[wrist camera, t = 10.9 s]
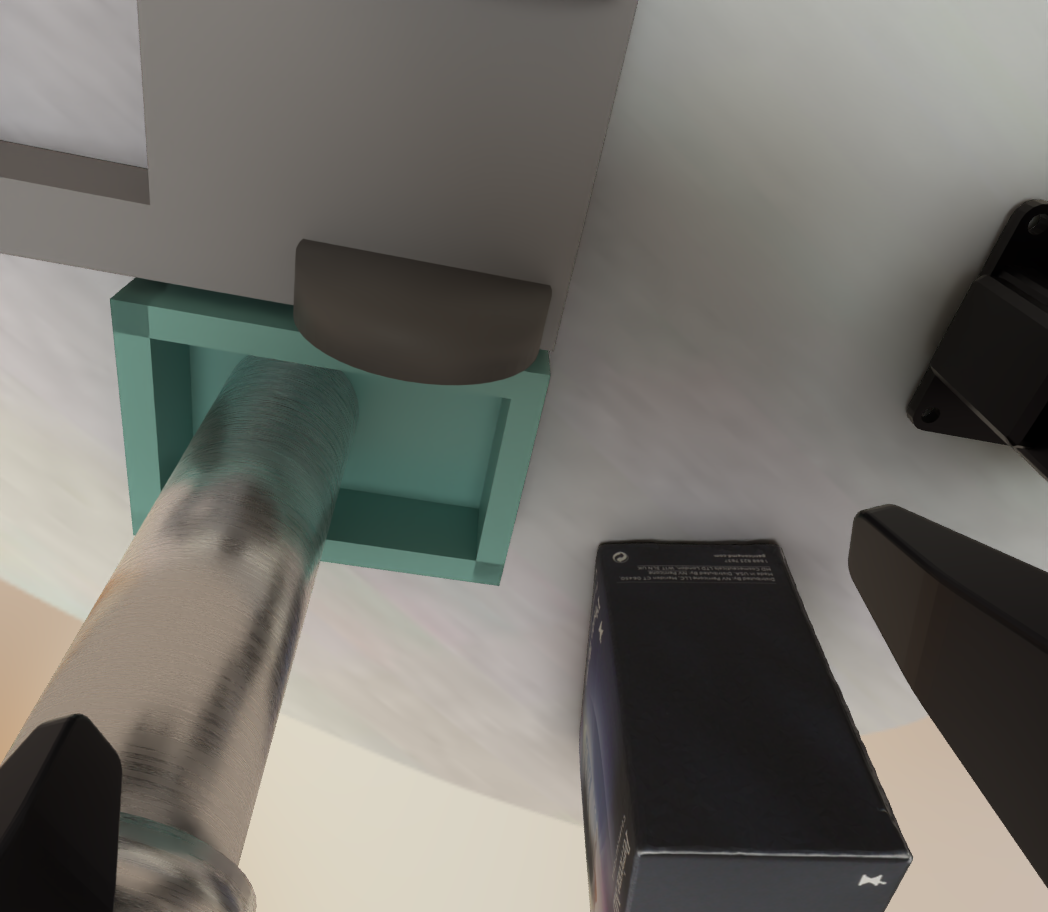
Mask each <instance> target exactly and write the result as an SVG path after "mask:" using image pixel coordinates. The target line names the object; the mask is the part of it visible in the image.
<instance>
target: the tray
mask: <svg viewBox="0 0 1048 912" xmlns="http://www.w3.org/2000/svg"><path fill="white" fill-rule="evenodd" d="M110 305H111V315H112V325H113V335H114V345H115V355H116V365H117V375H118V385H119V395H120V405H121V415H122V426H123V436H124V446H125V456H126V466H127V476H128V486H129V496H130V506H131V516H132V526H133V535H136V534H137V532H138V530H139V529H140V527H141V525H142V524H143V522H144V520H145V518H146V517H147V515H148V513H149V512H150V510H151V508H152V507H153V505H154V503H155V501H156V500H157V498H158V496H159V495H160V493H161V491H162V490H163V488H164V486H165V484H166V483H167V481H168V479H169V478H170V476H171V474H172V473H173V471H174V469H175V467H176V466H177V464H178V462H179V461H180V459H181V457H182V456H183V454H184V452H185V450H186V449H187V447H188V445H189V444H190V442H191V440H192V439H193V437H194V435H195V433H196V432H197V430H198V428H199V427H200V425H201V423H202V422H203V420H204V418H205V416H206V415H207V413H208V411H209V410H210V408H211V406H212V405H213V403H214V401H215V399H216V398H217V396H218V394H219V393H220V391H221V389H222V388H223V386H224V384H225V382H226V381H227V379H228V377H229V376H230V374H231V372H232V371H233V369H234V368H235V367H236V365H237V364H238V363H239V362H240V361H241V360H243V359H244V358H245V357H247V356H248V355H252V356H258V357H264V358H270V359H276V360H282V361H288V362H294V363H300V364H306V365H312V366H318V367H323V368H329V369H335V370H341V371H342V372H343V373H344V375H345V376H346V377H347V379H348V380H349V381H350V383H351V385H352V386H353V388H354V391H355V393H356V396H357V400H358V406H359V417H358V422H357V426H356V430H355V433H354V437H353V441H352V444H351V448H350V452H349V456H348V459H347V463H346V467H345V470H344V474H343V478H342V482H341V485H340V489H339V493H338V496H337V500H336V504H335V508H334V511H333V515H332V519H331V522H330V526H329V530H328V534H327V537H326V541H325V545H324V549H323V552H322V556H321V560H320V561H324V562H331V563H338V564H345V565H352V566H360V567H367V568H374V569H381V570H388V571H396V572H403V573H410V574H417V575H424V576H432V577H439V578H446V579H453V580H460V581H467V582H475V583H482V584H489V585H496V586H499V584H500V580H501V576H502V572H503V568H504V564H505V560H506V556H507V552H508V548H509V544H510V539H511V535H512V531H513V527H514V523H515V519H516V515H517V511H518V507H519V503H520V499H521V494H522V490H523V486H524V482H525V478H526V474H527V470H528V466H529V462H530V458H531V454H532V450H533V445H534V441H535V437H536V433H537V429H538V425H539V421H540V417H541V413H542V409H543V405H544V400H545V396H546V392H547V388H548V384H549V380H550V376H551V375H550V365H549V355H548V351H547V350H542V349H539V353H538V355H537V358H536V360H535V361H534V362H533V363H532V365H531V366H529V367H528V368H527V369H526V370H524V371H522V372H520V373H519V374H517V375H515V376H512V377H509V378H506V379H503V380H499V381H494V382H490V383H483V384H474V385H433V384H422V383H415V382H407V381H402V380H397V379H392V378H387V377H384V376H380V375H376V374H372V373H369V372H366V371H363V370H360V369H357V368H354V367H352V366H349V365H347V364H345V363H342V362H340V361H338V360H336V359H334V358H332V357H330V356H328V355H326V354H325V353H323V352H322V351H320V350H319V349H317V348H316V347H314V346H313V345H312V344H311V343H310V342H308V341H307V340H306V339H305V338H304V337H303V336H302V334H301V333H300V332H299V331H298V329H297V327H296V325H295V322H294V318H293V306H294V305H289V304H283V303H278V302H272V301H266V300H261V299H255V298H250V297H244V296H238V295H233V294H227V293H221V292H216V291H210V290H205V289H199V288H193V287H188V286H182V285H177V284H171V283H165V282H160V281H154V280H148V279H143V278H137V277H136V278H134V279H133V280H132V281H131V282H130V283H128V284H127V285H126V286H125V287H124V288H122V289H121V290H120V291H119V292H118V293H117V294H115V295H114V296H113V297H112V298H111V299H110Z"/></svg>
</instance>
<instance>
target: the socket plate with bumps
mask: <svg viewBox="0 0 1048 912" xmlns="http://www.w3.org/2000/svg"><path fill="white" fill-rule="evenodd" d="M637 4H638V0H137V8H138V24H139V39H140V55H141V70H142V86H143V101H144V116H145V132H146V147H147V163H148V169H144V168H139V167H134V166H129V165H124V164H119V163H113V162H108V161H103V160H98V159H93V158H88V157H83V156H78V155H72V154H67V153H62V152H57V151H52V150H47V149H42V148H36V147H31V146H26V145H21V144H16V143H11V142H6V141H0V253H2V254H8V255H14V256H19V257H25V258H30V259H36V260H42V261H47V262H53V263H59V264H64V265H70V266H75V267H81V268H87V269H92V270H98V271H103V272H109V273H115V274H120V275H126V276H132V277H137V278H143V279H148V280H154V281H160V282H165V283H171V284H177V285H182V286H188V287H193V288H199V289H205V290H210V291H216V292H221V293H227V294H233V295H238V296H244V297H250V298H255V299H261V300H266V301H272V302H278V303H283V304H289V305H294V306H293V318H294V322H295V325H296V327H297V329H298V331H299V332H300V333H301V334H302V336H303V337H304V338H305V339H306V340H307V341H308V342H310V343H311V344H312V345H313V346H314V347H316V348H317V349H319V350H320V351H322V352H323V353H325V354H326V355H328V356H330V357H332V358H334V359H336V360H338V361H340V362H342V363H345V364H347V365H349V366H352V367H354V368H357V369H360V370H363V371H366V372H369V373H372V374H376V375H380V376H384V377H387V378H392V379H397V380H402V381H407V382H415V383H422V384H433V385H474V384H483V383H490V382H494V381H499V380H503V379H506V378H509V377H512V376H515V375H517V374H519V373H520V372H522V371H524V370H526V369H527V368H528V367H529V366H531V365H532V363H533V362H534V361H535V360H536V358H537V355H538V353H539V349H542V350H547V351H553V350H554V346H555V342H556V338H557V334H558V330H559V326H560V322H561V317H562V313H563V309H564V305H565V301H566V297H567V293H568V289H569V284H570V280H571V276H572V272H573V268H574V264H575V260H576V255H577V251H578V247H579V243H580V239H581V235H582V231H583V227H584V222H585V218H586V214H587V210H588V206H589V202H590V198H591V194H592V189H593V185H594V181H595V177H596V173H597V169H598V165H599V160H600V156H601V152H602V148H603V144H604V140H605V136H606V132H607V127H608V123H609V119H610V115H611V111H612V107H613V103H614V99H615V94H616V90H617V86H618V82H619V78H620V74H621V70H622V66H623V61H624V57H625V53H626V49H627V45H628V41H629V37H630V32H631V28H632V24H633V20H634V16H635V12H636V8H637Z"/></svg>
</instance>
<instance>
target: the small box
mask: <svg viewBox="0 0 1048 912" xmlns="http://www.w3.org/2000/svg"><path fill="white" fill-rule="evenodd" d="M579 754H580V777H581V791H582V805H583V819H584V833H585V847H586V860H587V872H588V884H589V898H590V912H884V911H885V909H886V908H887V906H888V904H889V902H890V900H891V898H892V896H893V895H894V893H895V891H896V889H897V888H898V886H899V884H900V882H901V880H902V878H903V877H904V875H905V873H906V871H907V869H908V867H909V866H910V864H911V862H912V860H913V856H912V854H911V852H910V850H909V848H908V846H907V843H906V841H905V839H904V837H903V835H902V833H901V831H900V828H899V826H898V823H897V820H896V818H895V816H894V814H893V811H892V808H891V806H890V803H889V801H888V799H887V797H886V794H885V792H884V790H883V788H882V786H881V784H880V782H879V779H878V777H877V774H876V771H875V768H874V767H873V765H872V763H871V760H870V758H869V756H868V754H867V750H866V747H865V745H864V743H863V742H862V740H861V738H860V735H859V731H858V730H857V728H856V726H855V724H854V721H853V718H852V716H851V713H850V711H849V708H848V706H847V704H846V702H845V700H844V698H843V695H842V692H841V690H840V688H839V685H838V684H837V682H836V680H835V679H834V676H833V674H832V672H831V670H830V667H829V664H828V662H827V659H826V658H825V655H824V652H823V650H822V648H821V645H820V643H819V641H818V639H817V637H816V635H815V632H814V629H813V626H812V624H811V622H810V620H809V618H808V615H807V613H806V610H805V608H804V605H803V602H802V599H801V597H800V595H799V593H798V591H797V588H796V584H795V582H794V579H793V577H792V575H791V572H790V570H789V567H788V565H787V562H786V559H785V556H784V554H783V551H782V548H780V547H779V546H778V545H767V544H760V545H755V544H753V545H737V544H736V545H683V544H655V543H640V544H607V545H601V546H599V548H598V551H597V557H596V566H595V578H594V588H593V599H592V610H591V619H590V629H589V639H588V650H587V660H586V670H585V681H584V692H583V703H582V715H581V726H580V739H579Z"/></svg>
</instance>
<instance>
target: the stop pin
mask: <svg viewBox="0 0 1048 912" xmlns="http://www.w3.org/2000/svg"><path fill="white" fill-rule="evenodd" d="M358 417H359V406H358V400H357V396H356V393H355V391H354V388H353V386H352V385H351V383H350V381H349V380H348V379H347V377H346V376H345V375H344V373H343V372H342V371H341V370H335V369H329V368H323V367H318V366H312V365H306V364H300V363H294V362H288V361H282V360H276V359H270V358H264V357H258V356H252V355H248V356H247V357H245V358H244V359H243V360H241V361H240V362H239V363H238V364H237V365H236V367H235V368H234V369H233V371H232V372H231V374H230V376H229V377H228V379H227V381H226V382H225V384H224V386H223V388H222V389H221V391H220V393H219V394H218V396H217V398H216V399H215V401H214V403H213V405H212V406H211V408H210V410H209V411H208V413H207V415H206V416H205V418H204V420H203V422H202V423H201V425H200V427H199V428H198V430H197V432H196V433H195V435H194V437H193V439H192V440H191V442H190V444H189V445H188V447H187V449H186V450H185V452H184V454H183V456H182V457H181V459H180V461H179V462H178V464H177V466H176V467H175V469H174V471H173V473H172V474H171V476H170V478H169V479H168V481H167V483H166V484H165V486H164V488H163V490H162V491H161V493H160V495H159V496H158V498H157V500H156V501H155V503H154V505H153V507H152V508H151V510H150V512H149V513H148V515H147V517H146V518H145V520H144V522H143V524H142V525H141V527H140V529H139V530H138V532H137V534H136V535H135V537H134V539H133V541H132V542H131V544H130V546H129V547H128V549H127V551H126V552H125V554H124V556H123V558H122V559H121V561H120V563H119V564H118V566H117V568H116V569H115V571H114V573H113V575H112V576H111V578H110V580H109V581H108V583H107V585H106V586H105V588H104V590H103V592H102V593H101V595H100V597H99V598H98V600H97V602H96V603H95V605H94V607H93V608H92V610H91V612H90V614H89V615H88V617H87V619H86V620H85V622H84V624H83V625H82V628H81V629H80V631H79V632H78V634H77V636H76V637H75V639H74V641H73V643H72V644H71V646H70V648H69V649H68V651H67V653H66V654H65V656H64V658H63V659H62V661H61V663H60V665H59V666H58V668H57V670H56V671H55V673H54V675H53V676H52V678H51V680H50V682H49V683H48V685H47V687H46V688H45V690H44V692H43V693H42V695H41V697H40V699H39V700H38V702H37V704H36V705H35V707H34V709H33V711H32V712H31V714H30V716H29V717H28V719H27V721H26V722H25V724H24V726H23V727H22V729H21V731H20V733H19V734H18V736H17V738H16V740H15V741H14V743H13V744H12V746H11V748H10V750H9V752H8V753H7V755H6V756H5V758H4V760H3V762H2V764H1V765H0V767H1V766H2V765H3V764H4V763H5V761H6V760H7V759H8V758H9V757H10V756H11V755H12V754H13V752H14V751H15V750H16V749H17V748H18V747H19V746H20V745H21V743H22V742H23V741H24V740H25V739H26V738H27V737H28V736H29V735H30V733H31V732H32V731H33V730H34V729H35V728H36V727H37V726H38V725H40V724H41V723H43V722H45V721H48V720H52V719H56V718H59V717H63V716H67V715H71V714H78V713H80V714H83V715H85V716H87V717H88V718H89V719H90V720H91V721H92V722H93V724H94V725H95V726H96V727H97V728H98V730H99V731H100V732H101V733H102V734H103V736H104V737H105V738H106V739H107V741H108V742H109V743H110V744H111V745H112V747H113V748H114V749H115V750H116V752H117V753H118V755H119V757H120V760H121V764H122V771H123V778H122V794H121V811H120V827H119V844H118V860H117V876H116V891H115V902H114V912H255V911H256V896H255V894H254V890H253V887H252V885H251V883H250V882H249V880H248V879H247V877H246V876H245V874H244V873H243V872H242V871H241V870H240V869H239V868H238V864H239V861H240V857H241V853H242V850H243V846H244V842H245V838H246V835H247V831H248V827H249V824H250V820H251V816H252V812H253V809H254V805H255V801H256V797H257V794H258V790H259V786H260V782H261V779H262V775H263V772H264V768H265V764H266V760H267V757H268V753H269V749H270V745H271V742H272V738H273V734H274V731H275V727H276V723H277V719H278V716H279V712H280V708H281V705H282V701H283V697H284V693H285V690H286V686H287V682H288V679H289V675H290V671H291V667H292V664H293V660H294V656H295V653H296V649H297V645H298V641H299V638H300V634H301V630H302V627H303V623H304V619H305V615H306V612H307V608H308V604H309V601H310V597H311V593H312V589H313V586H314V582H315V578H316V575H317V571H318V567H319V563H320V560H321V556H322V552H323V549H324V545H325V541H326V537H327V534H328V530H329V526H330V522H331V519H332V515H333V511H334V508H335V504H336V500H337V496H338V493H339V489H340V485H341V482H342V478H343V474H344V470H345V467H346V463H347V459H348V456H349V452H350V448H351V444H352V441H353V437H354V433H355V430H356V426H357V422H358Z"/></svg>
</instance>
